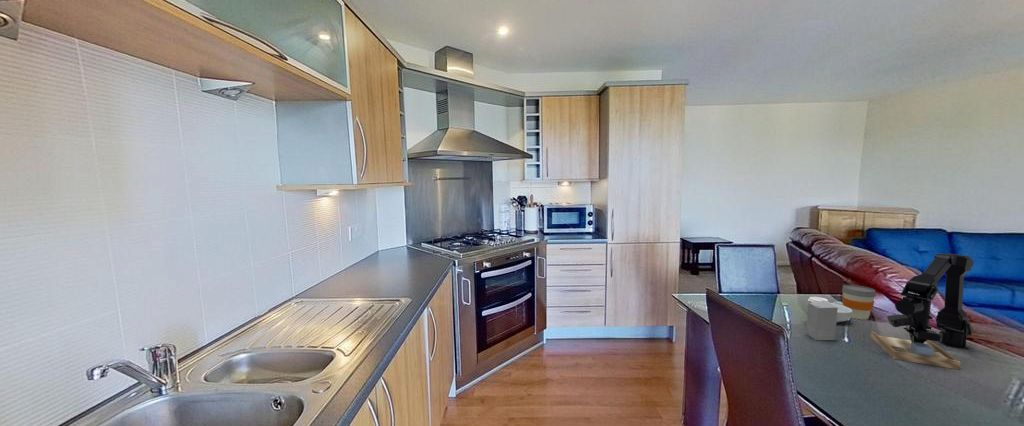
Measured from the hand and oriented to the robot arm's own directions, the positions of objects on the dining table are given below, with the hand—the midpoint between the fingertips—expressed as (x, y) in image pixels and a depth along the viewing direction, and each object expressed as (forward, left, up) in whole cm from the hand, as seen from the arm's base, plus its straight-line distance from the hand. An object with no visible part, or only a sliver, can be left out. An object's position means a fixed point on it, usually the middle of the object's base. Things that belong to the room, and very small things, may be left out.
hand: (915, 348), depth 143 cm
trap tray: (0, -3, -3) cm, 4 cm away
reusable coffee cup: (+5, -44, -3) cm, 44 cm away
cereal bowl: (+19, -32, -3) cm, 37 cm away
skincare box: (+29, -3, -3) cm, 29 cm away
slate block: (0, +4, -1) cm, 4 cm away
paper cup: (+27, -18, -3) cm, 33 cm away
